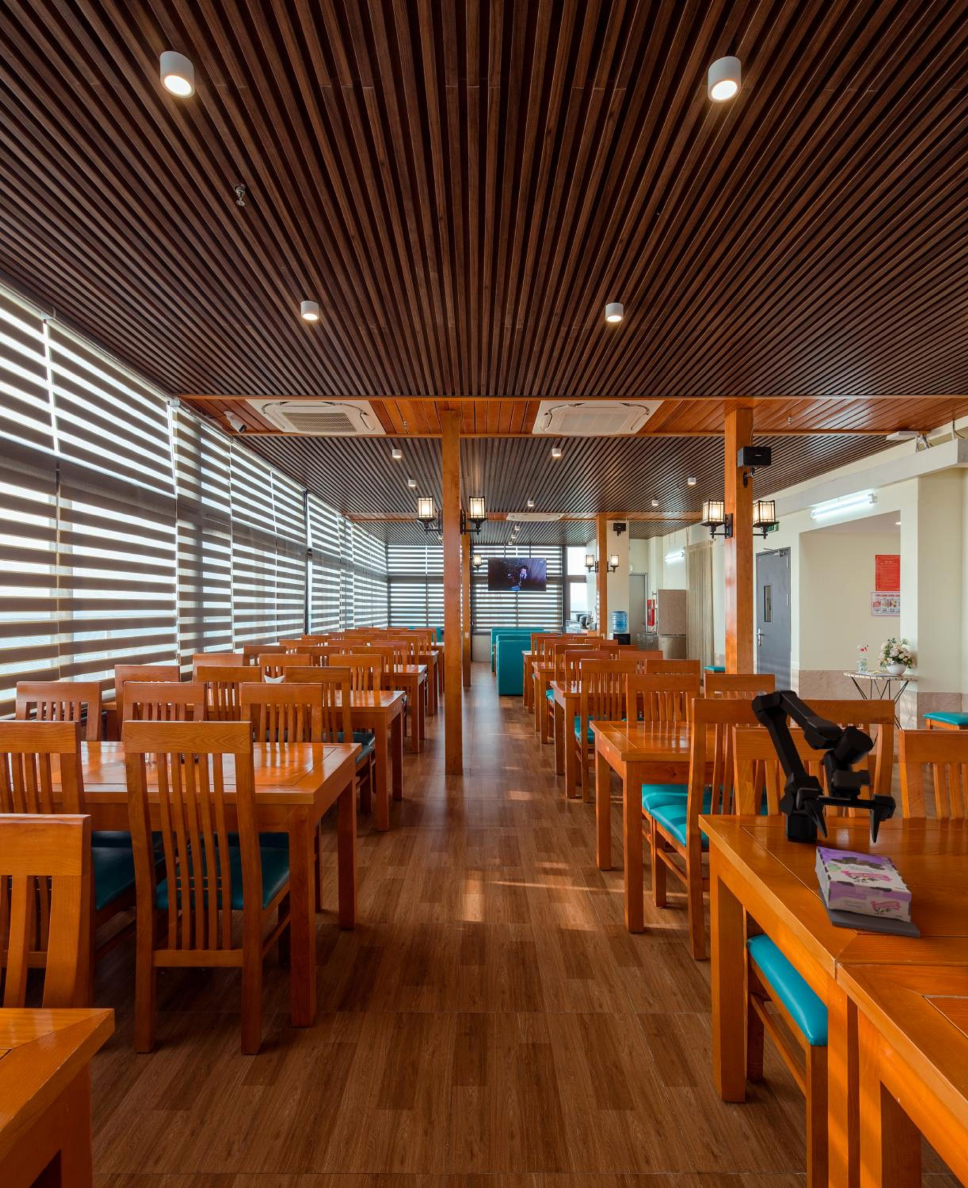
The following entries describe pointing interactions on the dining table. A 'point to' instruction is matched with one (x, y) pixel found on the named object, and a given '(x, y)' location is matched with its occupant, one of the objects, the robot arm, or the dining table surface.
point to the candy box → (862, 884)
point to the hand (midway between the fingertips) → (850, 839)
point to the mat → (869, 921)
